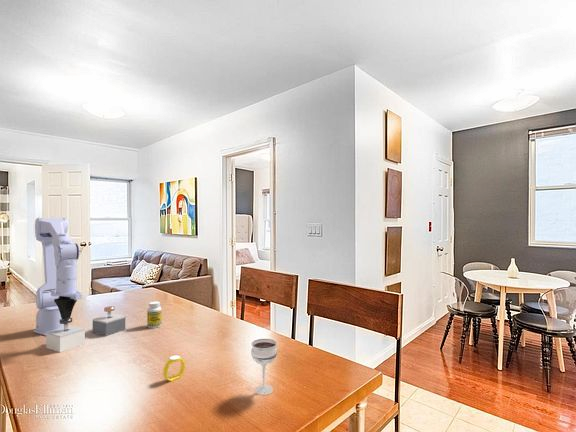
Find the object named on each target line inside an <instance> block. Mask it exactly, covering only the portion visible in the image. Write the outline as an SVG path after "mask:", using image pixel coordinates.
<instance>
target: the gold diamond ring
mask: <svg viewBox="0 0 576 432" xmlns="http://www.w3.org/2000/svg"><path fill="white" fill-rule="evenodd" d="M168 359H169V360H168V361H167V362H166V363H165V365H164V367H163V373H162V375H163V377H164V379H166V380H167V381H169V382H174V381H175V380H177V379H179V378H181V377H182V376H183V374H184V372H185V368H186V363H185V361H184V359H183V358H181V356H180V355H172V356H170V357H168ZM179 361H180V365H181V366H180V369H179V372H178V373H177V374H176V375H174V376H172V377H170V378H169V376H168V370H169V367H170V366H171V365H172V363H175V362H179Z"/></svg>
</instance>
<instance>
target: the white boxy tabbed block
mask: <svg viewBox="0 0 576 432" xmlns="http://www.w3.org/2000/svg"><path fill="white" fill-rule="evenodd" d="M124 330H126V315H122V314H117V313H113V312H111V318H108V314H105V315H104V314H103V315H102V316H98V317H94V318H92V334H96V335H101V336H103V337H108V336H110V335H113V334H116V333H119V332H121V331H124Z"/></svg>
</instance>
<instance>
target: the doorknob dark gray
mask: <svg viewBox="0 0 576 432" xmlns="http://www.w3.org/2000/svg"><path fill="white" fill-rule="evenodd" d="M72 322H73V317H70V318H68V319H60V324H64V332H65V331H68V326H69V324H70V323H72Z"/></svg>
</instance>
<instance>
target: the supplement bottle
mask: <svg viewBox="0 0 576 432" xmlns="http://www.w3.org/2000/svg"><path fill="white" fill-rule="evenodd" d="M160 305H161V303H160V301H150V302H149V303H148V306H149V307H148V308H147V315H146V316H147V320H146V323H147V328H149V329H156V328H159V327H161V326H162V321H163V320H162V318H163V317H162V312H163V311H162V307H161V306H160Z"/></svg>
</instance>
